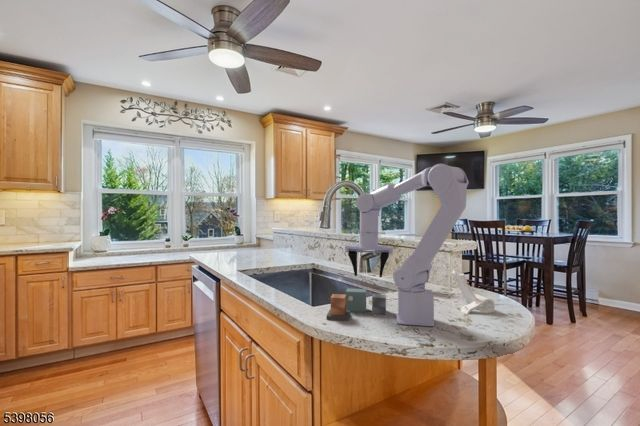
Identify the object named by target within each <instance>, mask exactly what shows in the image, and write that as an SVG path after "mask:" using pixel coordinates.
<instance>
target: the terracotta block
mask: <svg viewBox="0 0 640 426" xmlns="http://www.w3.org/2000/svg"><path fill="white" fill-rule="evenodd" d="M331 294H332V295H331V296H330V309H331V315H339V316H345V313H346V293H345V294H342V293H341V294H340V293H331Z"/></svg>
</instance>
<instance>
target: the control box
mask: <svg viewBox="0 0 640 426" xmlns="http://www.w3.org/2000/svg"><path fill="white" fill-rule="evenodd" d="M345 295H346V310H348V311H350V312H354V313H355V312H356V313H366V311H367V289H365V288H346V290H345Z"/></svg>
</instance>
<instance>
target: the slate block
mask: <svg viewBox="0 0 640 426" xmlns="http://www.w3.org/2000/svg"><path fill="white" fill-rule="evenodd" d="M371 296H372V297H371V300H372V301H371V305H372V306H371V308H372V309H371V314H372V315H381V316H383V315H385V316H386V315H387V294H383V293H372V295H371Z"/></svg>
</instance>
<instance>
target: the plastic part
mask: <svg viewBox="0 0 640 426" xmlns="http://www.w3.org/2000/svg"><path fill="white" fill-rule="evenodd" d="M451 274H452V276H453V278H454V280H455V282H456V284H457V286H458V287H459V290H460V291H461V294H462V295H463V298H464V299H465V302H466V304H465V305H462V306H461V308H460V313H462V314H465V315H469V314H470V313H471V312H472V311H473V310H479V311H481V312H484V313H485V314H487V313H488V314H491V313H493V312H494V310H495V307H496V304H495V303H496V302H495V301H494V300H493V299H491V298H490V297H489V298H488V297H486V296H483V295H480V294H477V293H475V292H474V291H473V289H472V287H471V285H470V284H469V285H468V283H467V282H468V280H467V278H466V276H465V273H458V274H457V273H456V271H455V270H453V271H452V272H451Z"/></svg>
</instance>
